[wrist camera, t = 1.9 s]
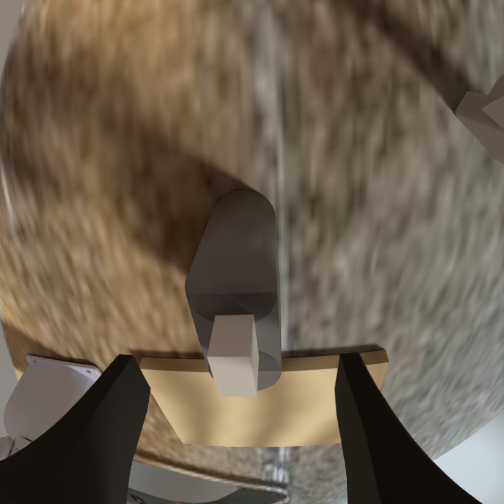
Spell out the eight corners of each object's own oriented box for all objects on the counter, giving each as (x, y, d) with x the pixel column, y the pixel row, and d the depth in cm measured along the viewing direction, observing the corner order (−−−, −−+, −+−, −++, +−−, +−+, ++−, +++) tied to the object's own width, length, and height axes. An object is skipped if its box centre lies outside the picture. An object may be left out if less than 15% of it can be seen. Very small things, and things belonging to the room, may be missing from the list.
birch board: (184, 433, 29) (182, 443, 28) (142, 356, 22) (138, 368, 21) (358, 430, 27) (359, 440, 26) (385, 349, 21) (389, 362, 20)
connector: (228, 310, 19) (209, 426, 12) (207, 191, 15) (158, 294, 9) (281, 308, 19) (282, 426, 12) (273, 186, 15) (274, 290, 8)
